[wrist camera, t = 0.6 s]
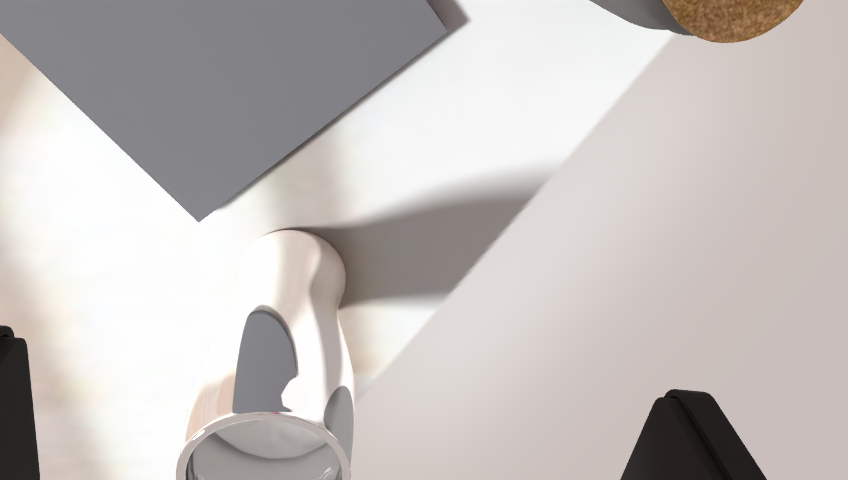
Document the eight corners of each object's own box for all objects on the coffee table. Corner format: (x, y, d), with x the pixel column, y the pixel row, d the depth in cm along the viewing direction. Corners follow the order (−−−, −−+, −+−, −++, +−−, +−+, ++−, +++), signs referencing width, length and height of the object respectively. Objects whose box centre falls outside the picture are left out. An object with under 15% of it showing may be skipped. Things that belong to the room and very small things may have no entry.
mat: (243, -260, 28) (239, -264, 27) (444, 26, 34) (447, 31, 33) (-23, -7, 31) (-37, -2, 30) (202, 212, 38) (198, 222, 36)
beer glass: (320, 202, 38) (305, 383, 25) (373, 300, 41) (384, 505, 28) (206, 250, 39) (132, 450, 25) (266, 342, 42) (228, 562, 29)
